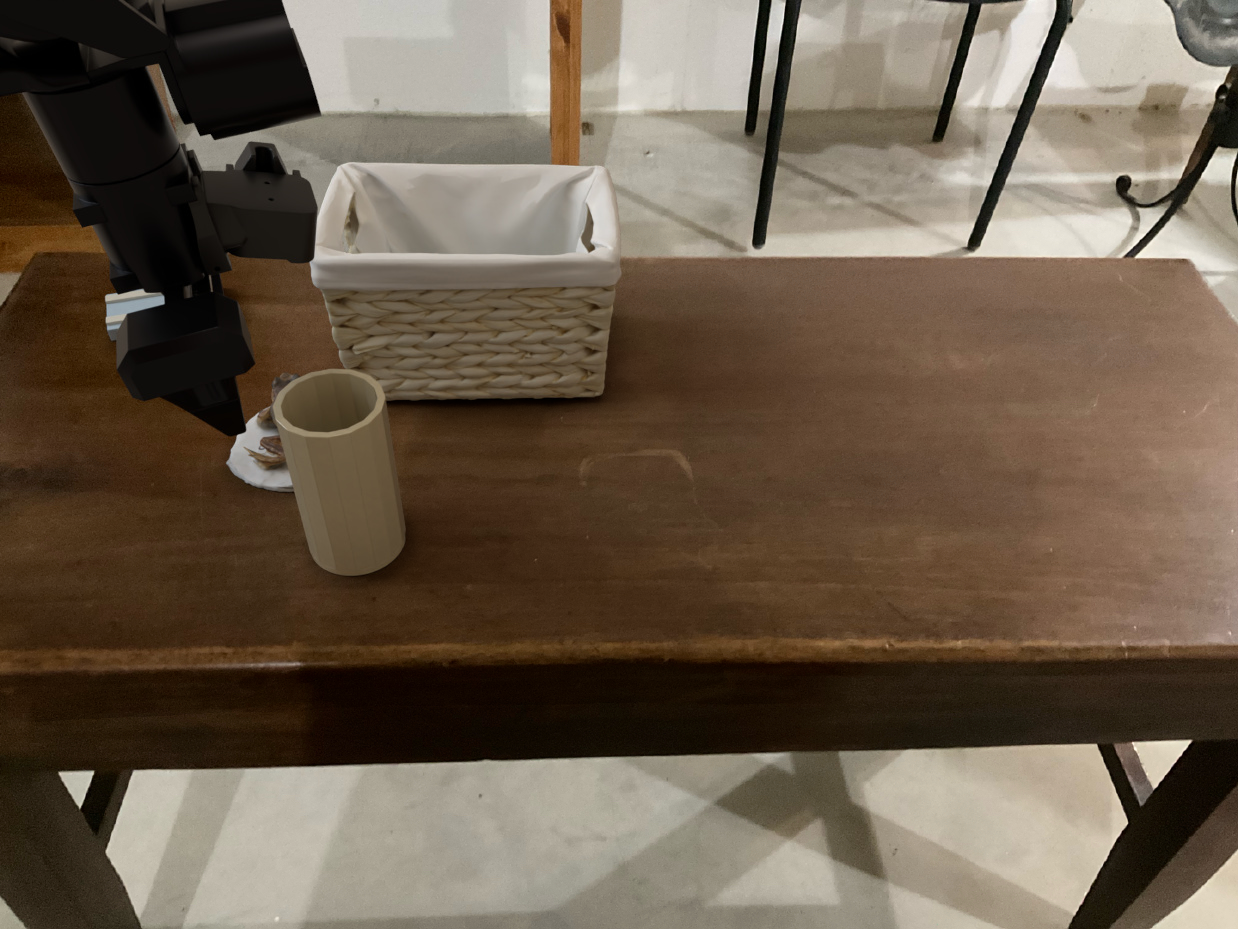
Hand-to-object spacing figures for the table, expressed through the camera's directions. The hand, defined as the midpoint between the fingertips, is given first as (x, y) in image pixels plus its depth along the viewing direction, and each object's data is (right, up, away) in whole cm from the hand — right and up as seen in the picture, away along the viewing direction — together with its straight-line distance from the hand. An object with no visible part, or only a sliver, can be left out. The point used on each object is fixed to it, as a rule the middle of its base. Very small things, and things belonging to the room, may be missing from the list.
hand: (231, 387), depth 60 cm
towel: (-17, +9, +29) cm, 35 cm away
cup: (+5, -10, +9) cm, 15 cm away
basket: (+12, +5, +26) cm, 29 cm away
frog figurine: (-1, -3, +17) cm, 17 cm away
